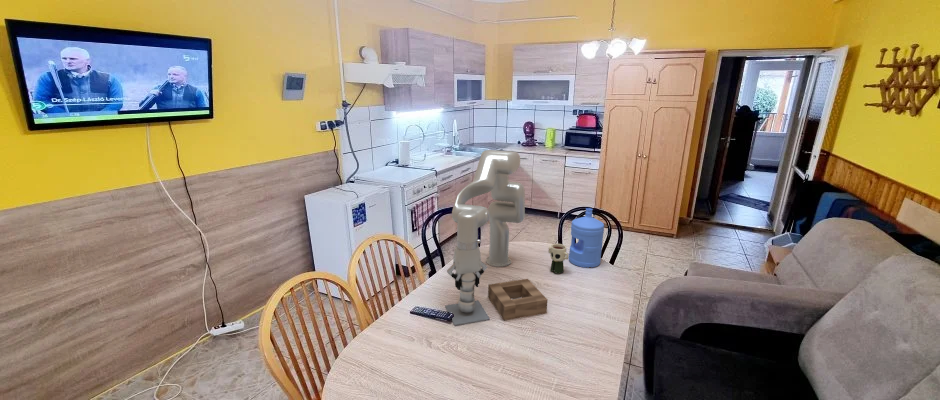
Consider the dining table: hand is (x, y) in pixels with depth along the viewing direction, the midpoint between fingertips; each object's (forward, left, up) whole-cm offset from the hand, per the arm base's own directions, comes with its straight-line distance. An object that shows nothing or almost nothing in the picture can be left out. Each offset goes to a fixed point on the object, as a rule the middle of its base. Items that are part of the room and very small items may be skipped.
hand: (467, 286), depth 153 cm
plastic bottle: (0, 0, -10) cm, 10 cm away
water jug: (-28, +71, -12) cm, 77 cm away
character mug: (-22, +52, -12) cm, 58 cm away
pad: (0, 0, -11) cm, 11 cm away
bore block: (0, +21, -11) cm, 24 cm away
